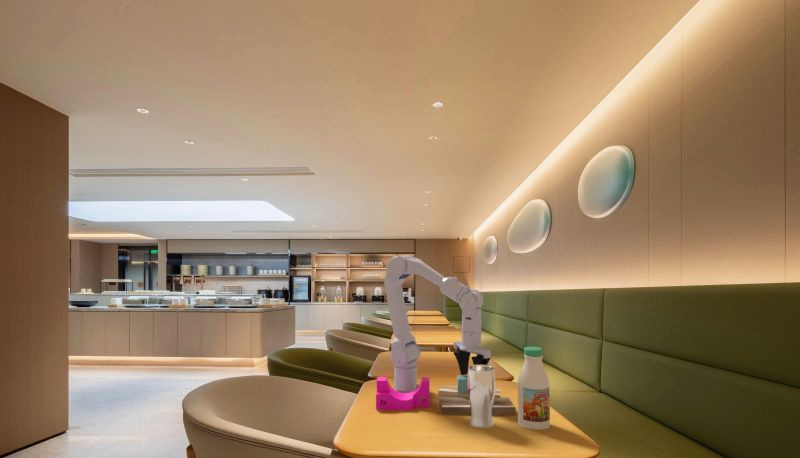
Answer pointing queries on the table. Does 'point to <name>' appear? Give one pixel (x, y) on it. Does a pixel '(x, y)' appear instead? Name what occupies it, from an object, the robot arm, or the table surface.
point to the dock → (463, 407)
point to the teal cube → (462, 384)
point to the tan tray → (456, 392)
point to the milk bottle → (533, 392)
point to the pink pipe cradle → (401, 396)
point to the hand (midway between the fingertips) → (471, 377)
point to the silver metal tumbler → (481, 395)
